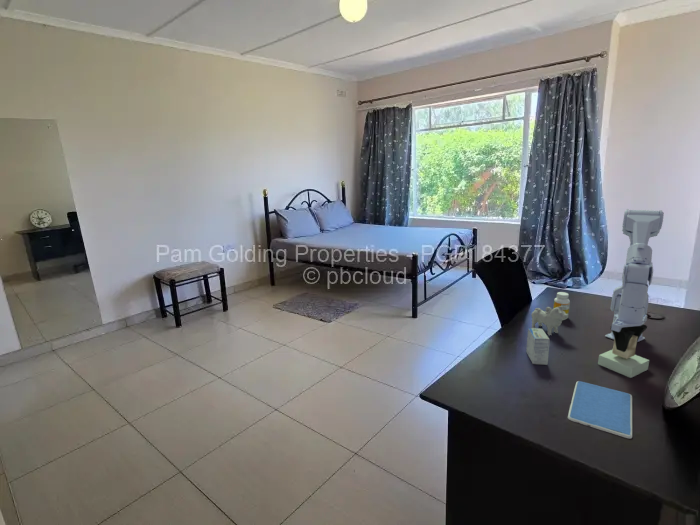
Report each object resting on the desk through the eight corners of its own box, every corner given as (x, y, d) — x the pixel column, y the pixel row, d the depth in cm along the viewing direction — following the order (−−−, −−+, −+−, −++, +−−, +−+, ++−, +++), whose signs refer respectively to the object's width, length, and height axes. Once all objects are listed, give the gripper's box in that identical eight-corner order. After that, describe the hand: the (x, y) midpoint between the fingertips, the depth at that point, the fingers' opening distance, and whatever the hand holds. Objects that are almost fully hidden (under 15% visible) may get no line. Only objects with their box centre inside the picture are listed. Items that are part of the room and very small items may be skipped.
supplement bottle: (550, 314, 152) (552, 291, 150) (564, 314, 151) (567, 291, 149) (555, 319, 147) (558, 295, 144) (570, 319, 146) (573, 295, 144)
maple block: (619, 349, 114) (622, 331, 112) (634, 355, 110) (637, 336, 109) (612, 353, 112) (614, 334, 110) (626, 358, 108) (630, 339, 107)
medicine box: (547, 365, 114) (550, 339, 112) (531, 364, 115) (534, 338, 113) (540, 353, 121) (543, 328, 119) (525, 352, 122) (527, 327, 120)
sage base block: (614, 356, 118) (616, 347, 117) (647, 369, 110) (649, 360, 109) (597, 364, 114) (599, 355, 113) (630, 377, 106) (632, 368, 105)
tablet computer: (631, 442, 83) (632, 436, 82) (566, 421, 90) (567, 416, 90) (631, 398, 98) (632, 393, 97) (575, 383, 105) (576, 379, 105)
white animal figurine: (560, 340, 130) (563, 311, 127) (527, 327, 141) (530, 300, 138) (569, 336, 132) (573, 308, 129) (537, 324, 143) (539, 297, 141)
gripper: (630, 296, 114) (624, 337, 117) (602, 305, 107) (596, 349, 110) (658, 303, 108) (650, 346, 111) (630, 313, 101) (622, 359, 104)
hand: (625, 348), depth 110 cm, fingers closed on maple block, 4 cm apart
